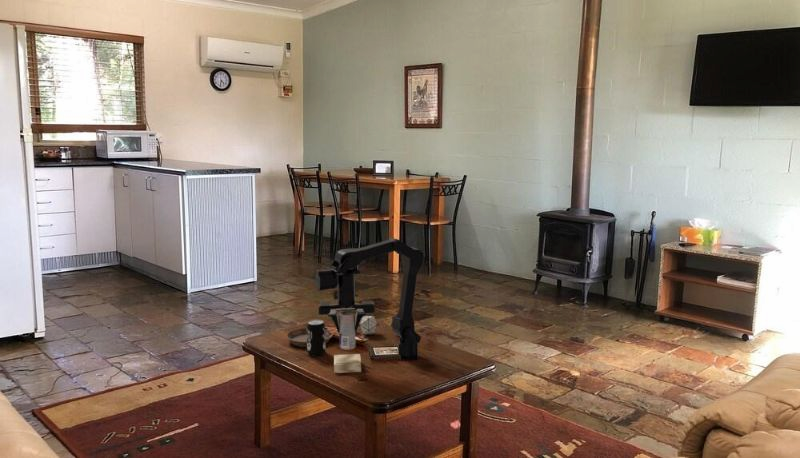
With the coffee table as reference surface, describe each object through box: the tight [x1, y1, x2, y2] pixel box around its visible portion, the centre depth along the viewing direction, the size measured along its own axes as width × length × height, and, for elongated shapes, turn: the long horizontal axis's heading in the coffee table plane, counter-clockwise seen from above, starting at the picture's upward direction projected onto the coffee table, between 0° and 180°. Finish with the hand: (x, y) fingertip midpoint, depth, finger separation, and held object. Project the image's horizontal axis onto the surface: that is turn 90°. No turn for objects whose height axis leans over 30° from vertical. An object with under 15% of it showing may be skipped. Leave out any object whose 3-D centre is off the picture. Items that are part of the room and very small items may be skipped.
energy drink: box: [338, 310, 356, 351], centre depth 213 cm, size 5×5×12 cm
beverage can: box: [306, 319, 326, 357], centre depth 228 cm, size 7×7×12 cm
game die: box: [358, 313, 380, 336], centre depth 249 cm, size 9×8×10 cm
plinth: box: [333, 353, 362, 374], centre depth 215 cm, size 9×9×3 cm
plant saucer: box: [285, 327, 333, 348], centre depth 242 cm, size 18×18×3 cm
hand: (347, 332), depth 213 cm, fingers closed on energy drink, 5 cm apart
